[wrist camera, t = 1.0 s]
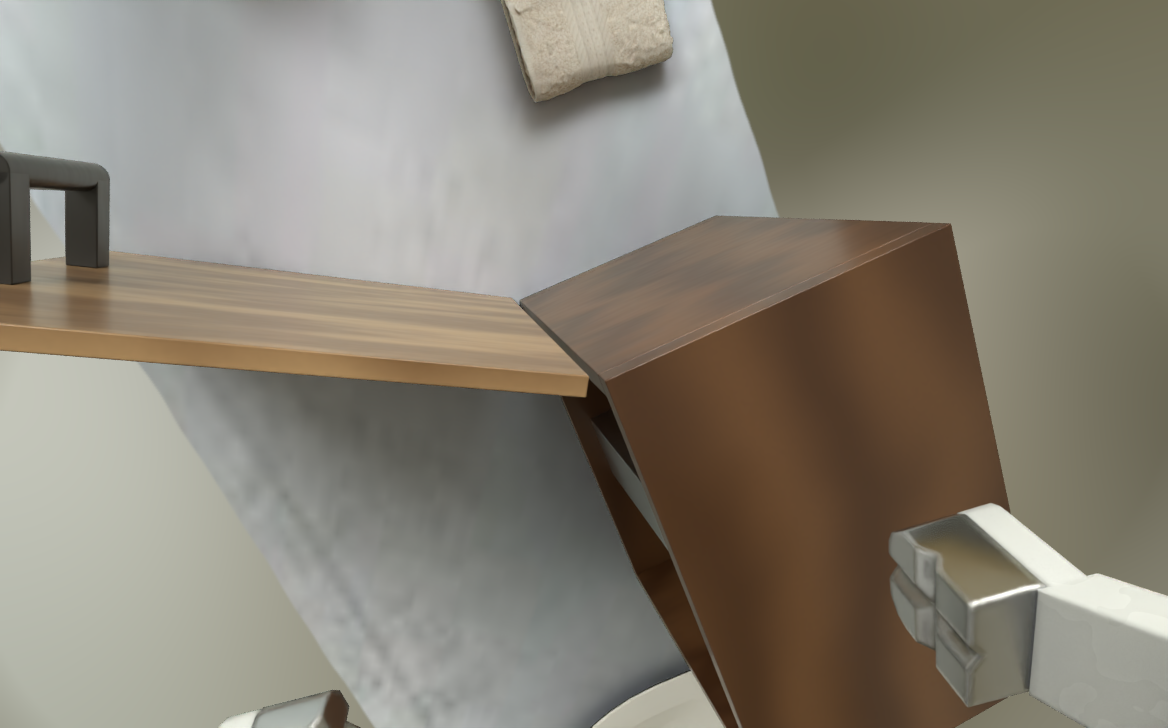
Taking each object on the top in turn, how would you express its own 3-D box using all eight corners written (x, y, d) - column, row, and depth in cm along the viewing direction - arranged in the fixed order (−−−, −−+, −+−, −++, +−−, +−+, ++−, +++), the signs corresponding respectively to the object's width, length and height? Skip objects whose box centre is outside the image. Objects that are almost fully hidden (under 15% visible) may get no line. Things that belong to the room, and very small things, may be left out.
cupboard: (636, 578, 62) (781, 826, 37) (519, 299, 54) (604, 380, 29) (803, 495, 65) (1044, 677, 40) (715, 215, 56) (951, 222, 31)
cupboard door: (106, 164, 45) (-270, 114, 21) (520, 224, 53) (609, 241, 28) (106, 264, 47) (-248, 330, 22) (510, 310, 54) (586, 397, 29)
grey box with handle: (590, 419, 56) (657, 503, 40) (684, 375, 58) (787, 440, 42) (612, 473, 58) (686, 576, 42) (704, 430, 59) (810, 513, 43)
